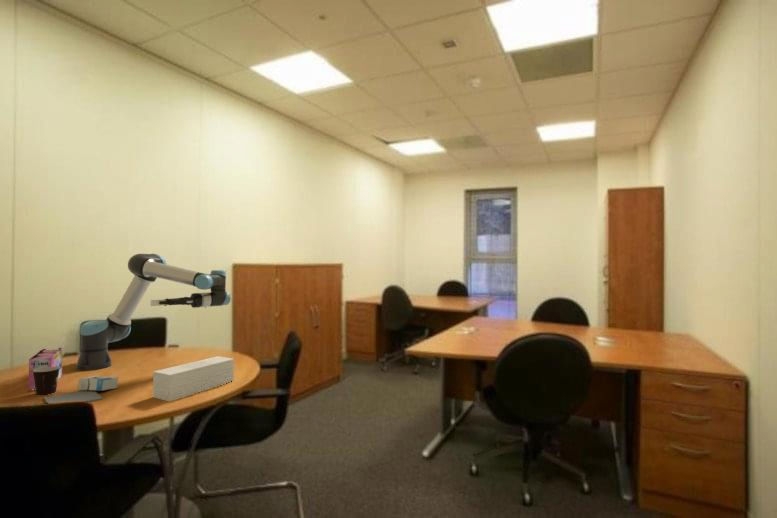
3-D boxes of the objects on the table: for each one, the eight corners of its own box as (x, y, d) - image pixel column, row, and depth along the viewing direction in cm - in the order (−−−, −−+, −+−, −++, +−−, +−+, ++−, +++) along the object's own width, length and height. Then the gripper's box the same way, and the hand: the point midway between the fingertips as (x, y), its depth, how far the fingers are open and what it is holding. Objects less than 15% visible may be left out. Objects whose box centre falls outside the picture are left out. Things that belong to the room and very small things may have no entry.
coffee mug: (42, 390, 179) (43, 366, 179) (64, 389, 180) (64, 366, 180) (21, 399, 168) (21, 374, 168) (44, 398, 168) (44, 373, 168)
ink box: (103, 379, 176) (78, 377, 178) (101, 391, 175) (76, 390, 177) (118, 376, 184) (94, 375, 186) (117, 388, 184) (93, 386, 185)
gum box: (42, 377, 199) (42, 348, 199) (63, 375, 203) (63, 347, 203) (27, 391, 178) (28, 359, 178) (51, 388, 182) (51, 357, 182)
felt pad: (44, 399, 168) (44, 397, 168) (92, 390, 179) (92, 389, 179) (52, 409, 157) (52, 407, 157) (102, 399, 169) (102, 397, 169)
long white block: (169, 402, 167) (169, 374, 167) (153, 397, 172) (153, 371, 172) (233, 382, 195) (234, 358, 195) (217, 378, 200) (218, 356, 200)
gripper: (205, 308, 217) (156, 312, 199) (194, 306, 226) (146, 309, 208) (205, 293, 217) (156, 296, 199) (194, 292, 226) (146, 294, 208)
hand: (151, 303), depth 204 cm, fingers closed
